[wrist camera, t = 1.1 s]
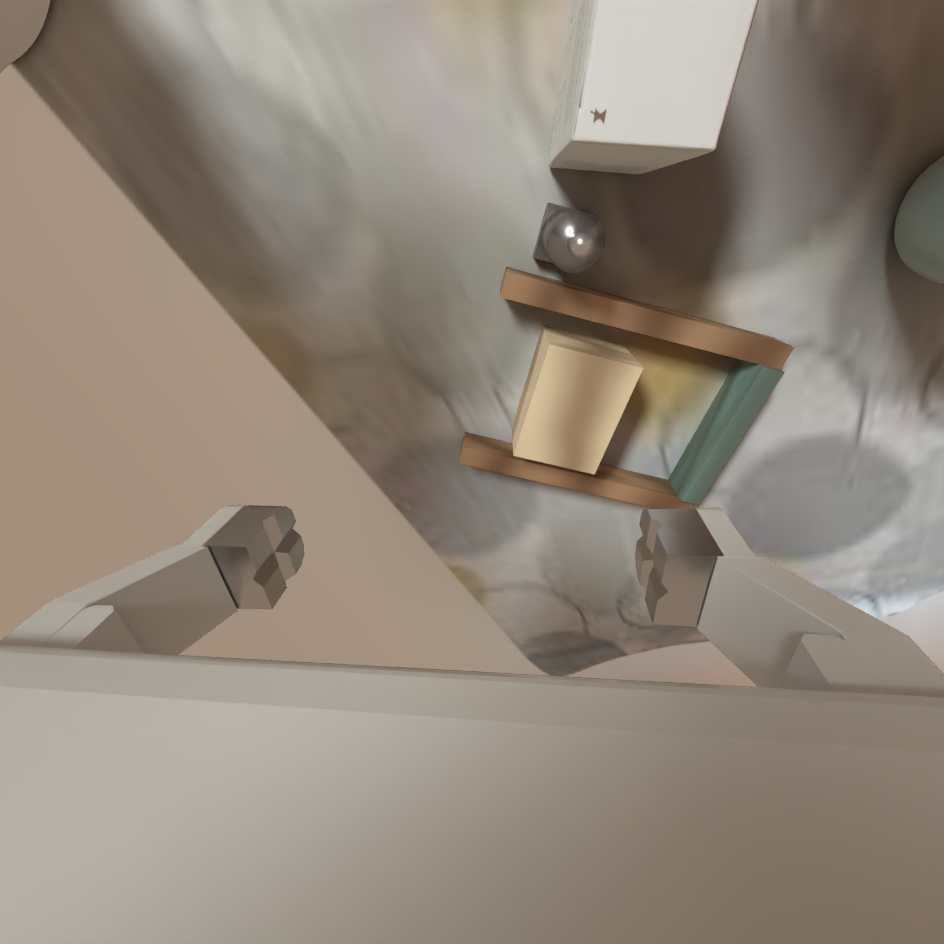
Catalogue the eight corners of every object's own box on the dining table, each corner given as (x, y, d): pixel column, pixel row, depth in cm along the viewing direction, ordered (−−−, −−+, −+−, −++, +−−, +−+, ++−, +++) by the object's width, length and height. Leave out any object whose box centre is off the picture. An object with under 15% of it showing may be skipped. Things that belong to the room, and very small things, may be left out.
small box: (640, 176, 25) (717, 158, 16) (545, 168, 25) (569, 147, 16) (686, -23, 21) (823, -196, 12) (571, -31, 21) (623, -209, 12)
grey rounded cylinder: (532, 256, 28) (542, 272, 21) (547, 202, 26) (563, 200, 19) (577, 268, 28) (601, 287, 21) (594, 215, 26) (626, 218, 19)
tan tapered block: (511, 424, 34) (513, 455, 30) (542, 325, 30) (549, 344, 26) (583, 441, 35) (594, 474, 30) (623, 345, 30) (643, 368, 26)
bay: (461, 448, 35) (457, 466, 33) (506, 267, 28) (506, 272, 25) (676, 498, 37) (689, 519, 34) (773, 337, 29) (799, 349, 27)
